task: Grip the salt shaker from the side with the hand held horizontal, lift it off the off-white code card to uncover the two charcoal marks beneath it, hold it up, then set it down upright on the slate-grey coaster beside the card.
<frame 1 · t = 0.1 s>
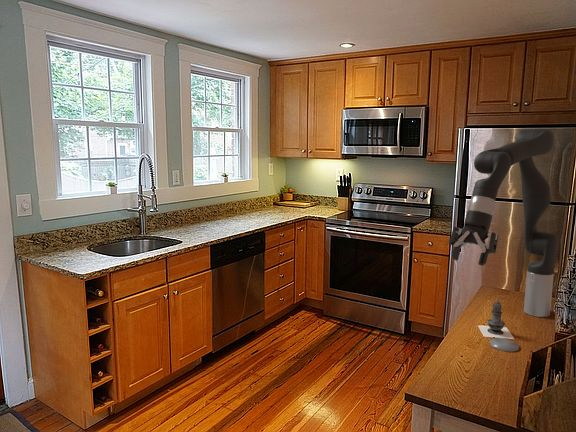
hand: (467, 262, 136), 31 cm above the kitchen island, tool tilted 20°, fingers open, 8 cm apart
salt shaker: (495, 332, 158), resting on code card
code card: (495, 332, 158), on the kitchen island
coaster: (503, 345, 148), on the kitchen island
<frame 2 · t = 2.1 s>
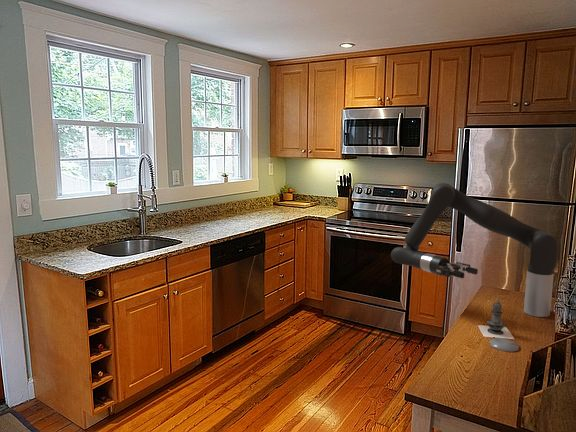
hand: (470, 273, 164), 19 cm above the kitchen island, tool horizontal, fingers open, 8 cm apart
nothing on the kitchen island moved.
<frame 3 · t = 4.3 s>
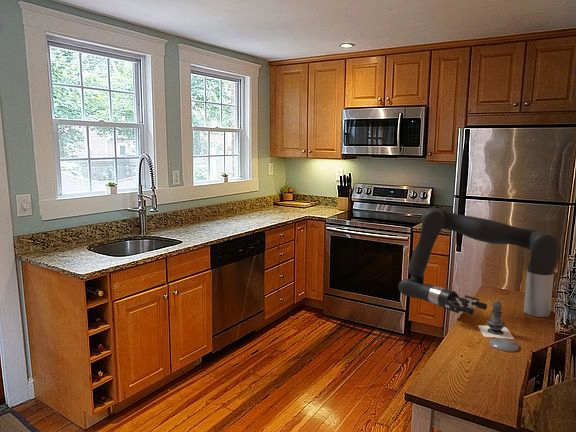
hand: (479, 309, 163), 6 cm above the kitchen island, tool horizontal, fingers open, 8 cm apart
nothing on the kitchen island moved.
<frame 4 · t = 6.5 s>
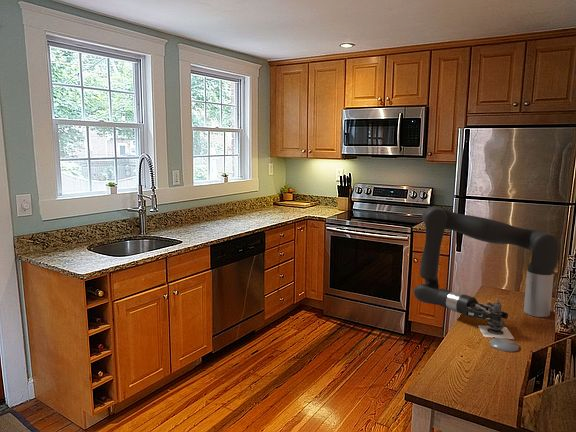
hand: (504, 317, 155), 7 cm above the kitchen island, tool horizontal, fingers closed on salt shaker, 3 cm apart
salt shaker: (495, 332, 158), resting on code card, touching gripper
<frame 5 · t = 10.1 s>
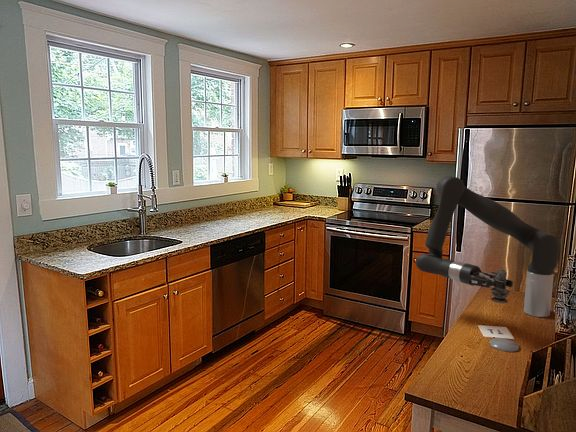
hand: (508, 285, 150), 20 cm above the kitchen island, tool horizontal, fingers closed on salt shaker, 3 cm apart
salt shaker: (499, 300, 153), point 13 cm above the kitchen island, touching gripper
when the fingers open (8 cm above the kitchen island, at t = 13.9 s): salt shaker stays where it is, resting on coaster.
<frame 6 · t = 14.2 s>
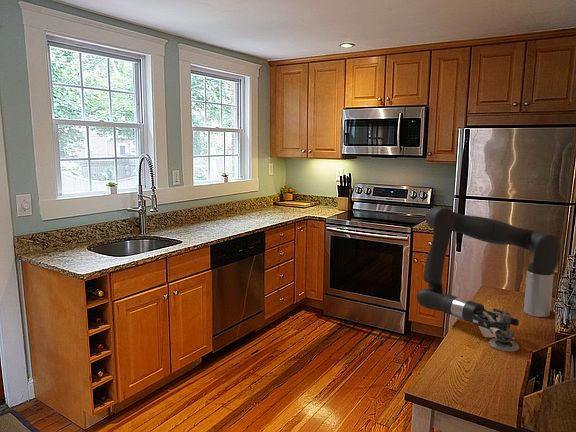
hand: (512, 325, 145), 8 cm above the kitchen island, tool horizontal, fingers open, 6 cm apart
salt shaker: (503, 344, 148), resting on coaster
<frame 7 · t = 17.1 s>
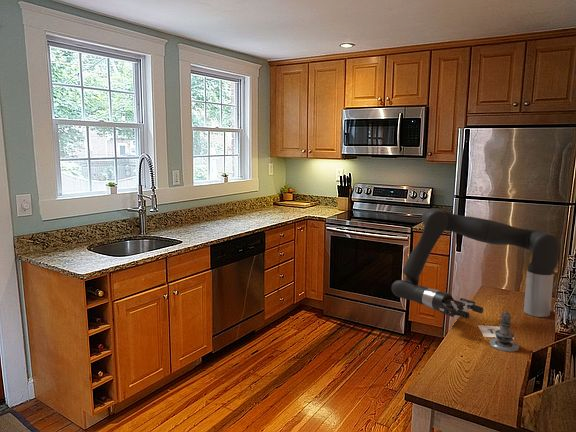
hand: (475, 313, 155), 8 cm above the kitchen island, tool horizontal, fingers open, 8 cm apart
nothing on the kitchen island moved.
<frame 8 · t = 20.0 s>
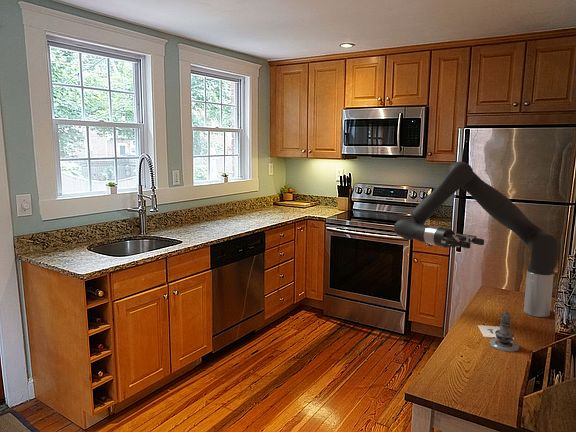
hand: (476, 244, 157), 32 cm above the kitchen island, tool horizontal, fingers open, 8 cm apart
nothing on the kitchen island moved.
at the end: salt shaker 0.1 cm off-centre on the coaster, point 0.4 cm above the coaster's base; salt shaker tilted 0°; the gripper is holding nothing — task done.
